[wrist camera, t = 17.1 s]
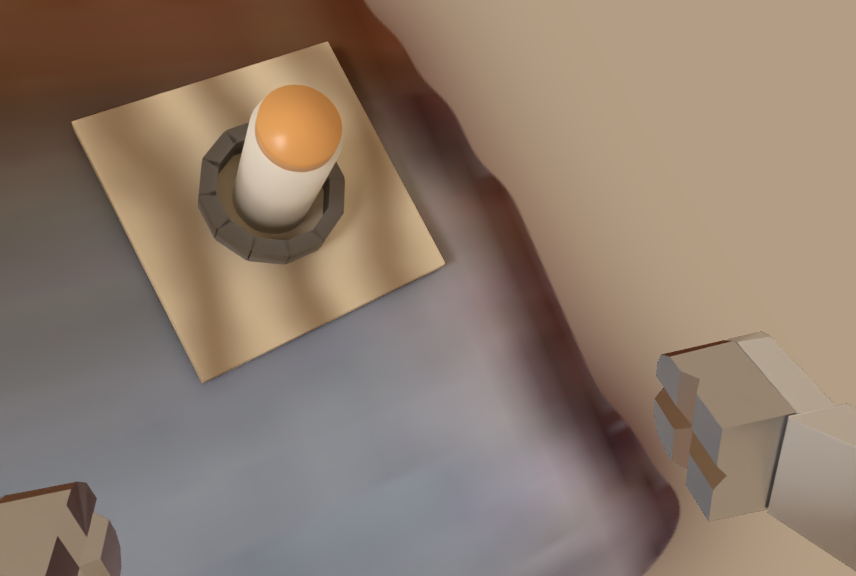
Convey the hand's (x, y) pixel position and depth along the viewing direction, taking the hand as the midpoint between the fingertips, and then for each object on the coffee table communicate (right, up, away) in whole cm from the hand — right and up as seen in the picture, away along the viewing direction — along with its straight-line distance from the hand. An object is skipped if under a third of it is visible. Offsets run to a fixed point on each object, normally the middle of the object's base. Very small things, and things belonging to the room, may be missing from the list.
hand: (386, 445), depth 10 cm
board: (-10, +8, +39) cm, 41 cm away
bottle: (-10, +8, +38) cm, 40 cm away
